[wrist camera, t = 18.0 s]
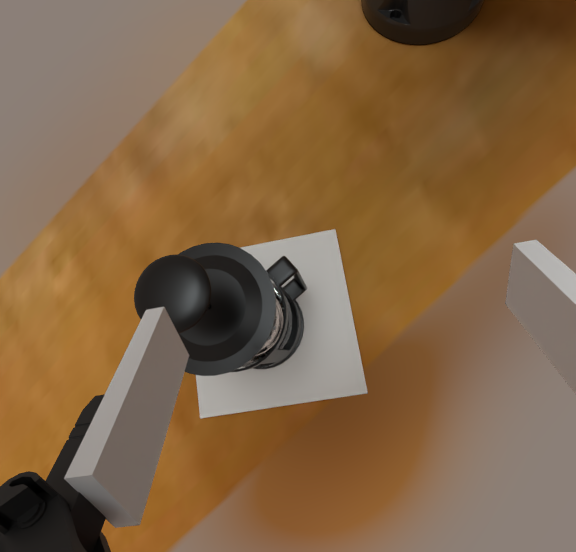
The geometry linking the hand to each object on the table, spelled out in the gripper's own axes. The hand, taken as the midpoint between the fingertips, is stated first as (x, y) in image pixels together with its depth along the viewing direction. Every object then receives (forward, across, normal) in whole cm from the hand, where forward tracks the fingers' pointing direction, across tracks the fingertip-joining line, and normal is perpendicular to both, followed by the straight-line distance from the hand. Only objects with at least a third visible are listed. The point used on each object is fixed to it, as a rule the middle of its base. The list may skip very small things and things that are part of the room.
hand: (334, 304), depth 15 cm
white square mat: (+21, -8, -18) cm, 28 cm away
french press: (+20, -8, -17) cm, 28 cm away
